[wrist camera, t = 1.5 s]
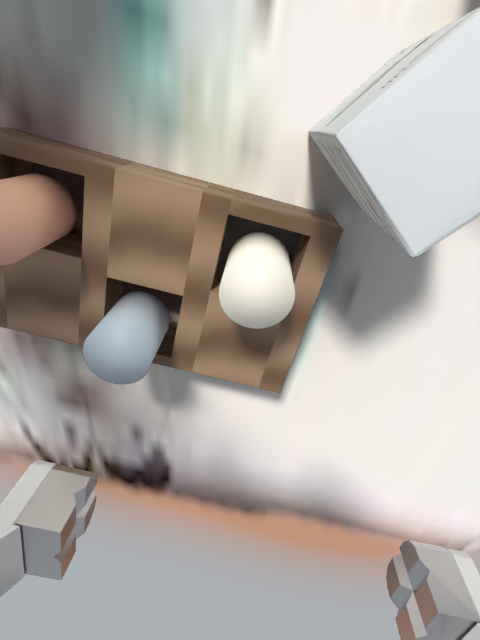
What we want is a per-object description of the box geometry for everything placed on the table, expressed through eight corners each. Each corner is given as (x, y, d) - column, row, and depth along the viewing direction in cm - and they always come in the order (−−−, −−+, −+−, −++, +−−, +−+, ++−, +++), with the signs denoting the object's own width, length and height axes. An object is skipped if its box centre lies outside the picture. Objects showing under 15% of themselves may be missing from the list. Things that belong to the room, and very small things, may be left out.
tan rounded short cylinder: (10, 165, 25) (-58, 175, 20) (77, 182, 25) (27, 197, 20) (14, 229, 27) (-47, 254, 22) (75, 245, 27) (30, 273, 22)
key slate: (117, 284, 29) (83, 320, 23) (174, 299, 29) (153, 337, 24) (112, 333, 31) (81, 375, 26) (165, 346, 31) (145, 390, 26)
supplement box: (396, 49, 24) (510, -18, 13) (447, 145, 26) (579, 159, 15) (303, 130, 26) (331, 132, 15) (357, 211, 29) (415, 263, 18)
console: (6, 127, 28) (-37, 127, 24) (332, 215, 29) (343, 229, 25) (16, 300, 35) (-17, 322, 31) (278, 364, 36) (279, 393, 32)
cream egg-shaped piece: (235, 224, 26) (228, 249, 21) (297, 241, 26) (305, 269, 21) (221, 282, 28) (211, 318, 23) (279, 297, 28) (282, 336, 23)
